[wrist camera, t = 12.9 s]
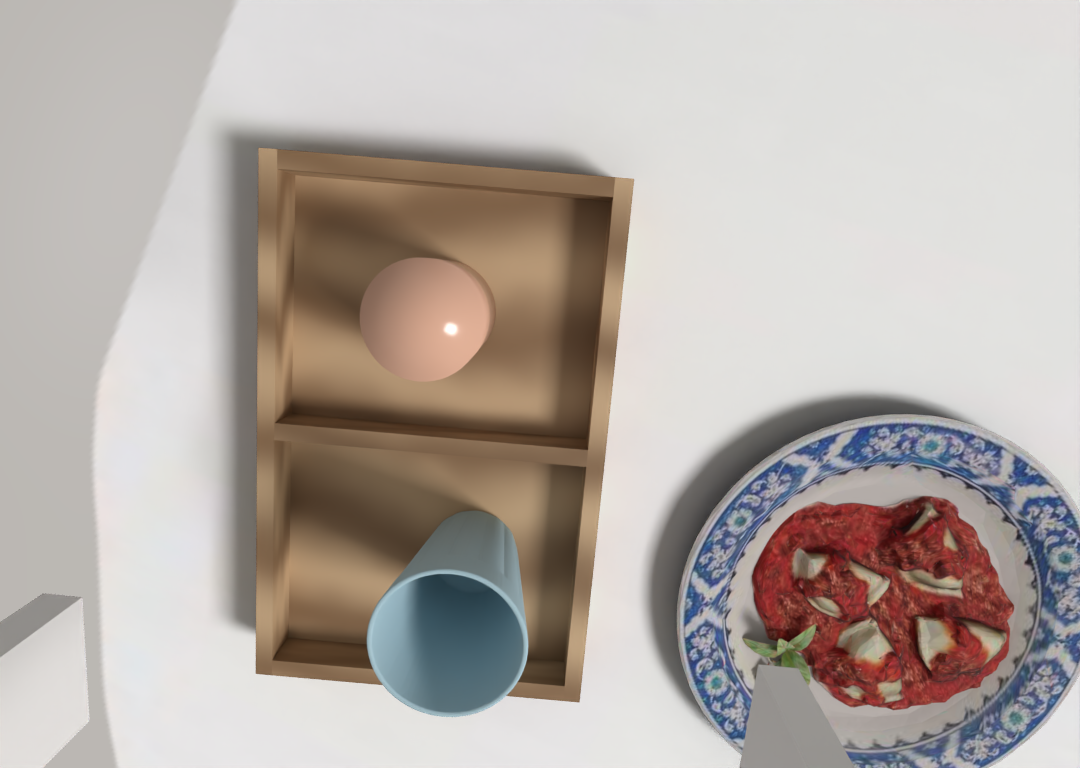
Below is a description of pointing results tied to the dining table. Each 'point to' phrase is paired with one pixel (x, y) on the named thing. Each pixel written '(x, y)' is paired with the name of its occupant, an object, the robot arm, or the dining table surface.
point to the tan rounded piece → (426, 317)
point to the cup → (453, 620)
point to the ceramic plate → (891, 591)
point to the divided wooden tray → (429, 398)
